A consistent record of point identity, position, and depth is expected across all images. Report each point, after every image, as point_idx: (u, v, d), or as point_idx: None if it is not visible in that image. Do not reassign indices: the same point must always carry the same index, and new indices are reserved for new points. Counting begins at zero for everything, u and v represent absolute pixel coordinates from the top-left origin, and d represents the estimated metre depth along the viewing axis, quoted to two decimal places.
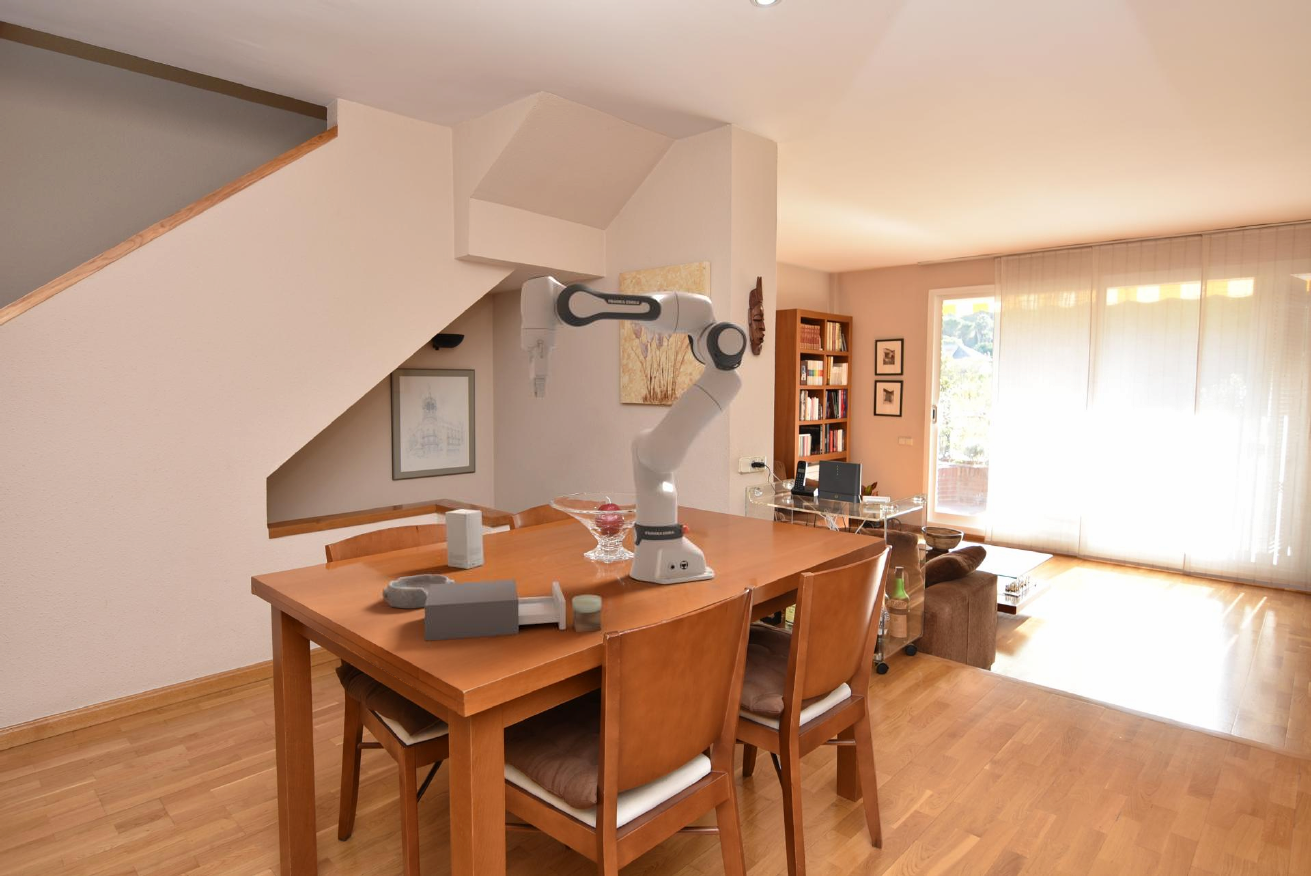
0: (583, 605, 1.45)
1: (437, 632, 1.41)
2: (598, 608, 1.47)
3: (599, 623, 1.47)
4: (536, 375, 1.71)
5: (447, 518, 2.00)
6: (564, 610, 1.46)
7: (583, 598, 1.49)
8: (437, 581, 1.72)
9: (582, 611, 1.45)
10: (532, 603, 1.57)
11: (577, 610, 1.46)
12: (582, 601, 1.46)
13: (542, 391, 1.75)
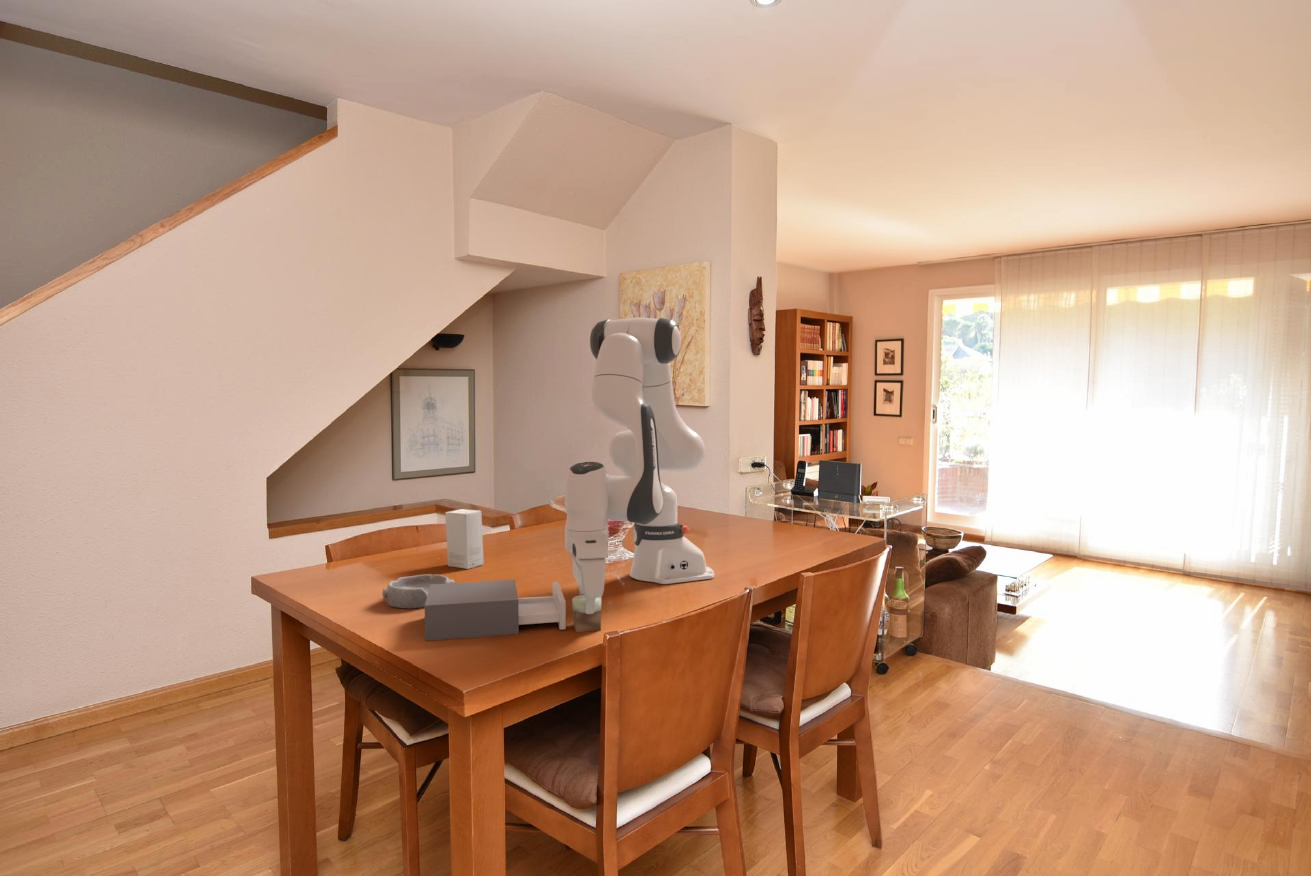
0: (583, 605, 1.45)
1: (437, 632, 1.41)
2: (598, 608, 1.47)
3: (599, 623, 1.47)
4: None
5: (447, 518, 2.00)
6: (564, 610, 1.46)
7: (583, 597, 1.49)
8: (437, 581, 1.72)
9: (582, 611, 1.45)
10: (532, 603, 1.57)
11: (577, 610, 1.46)
12: (582, 601, 1.46)
13: None
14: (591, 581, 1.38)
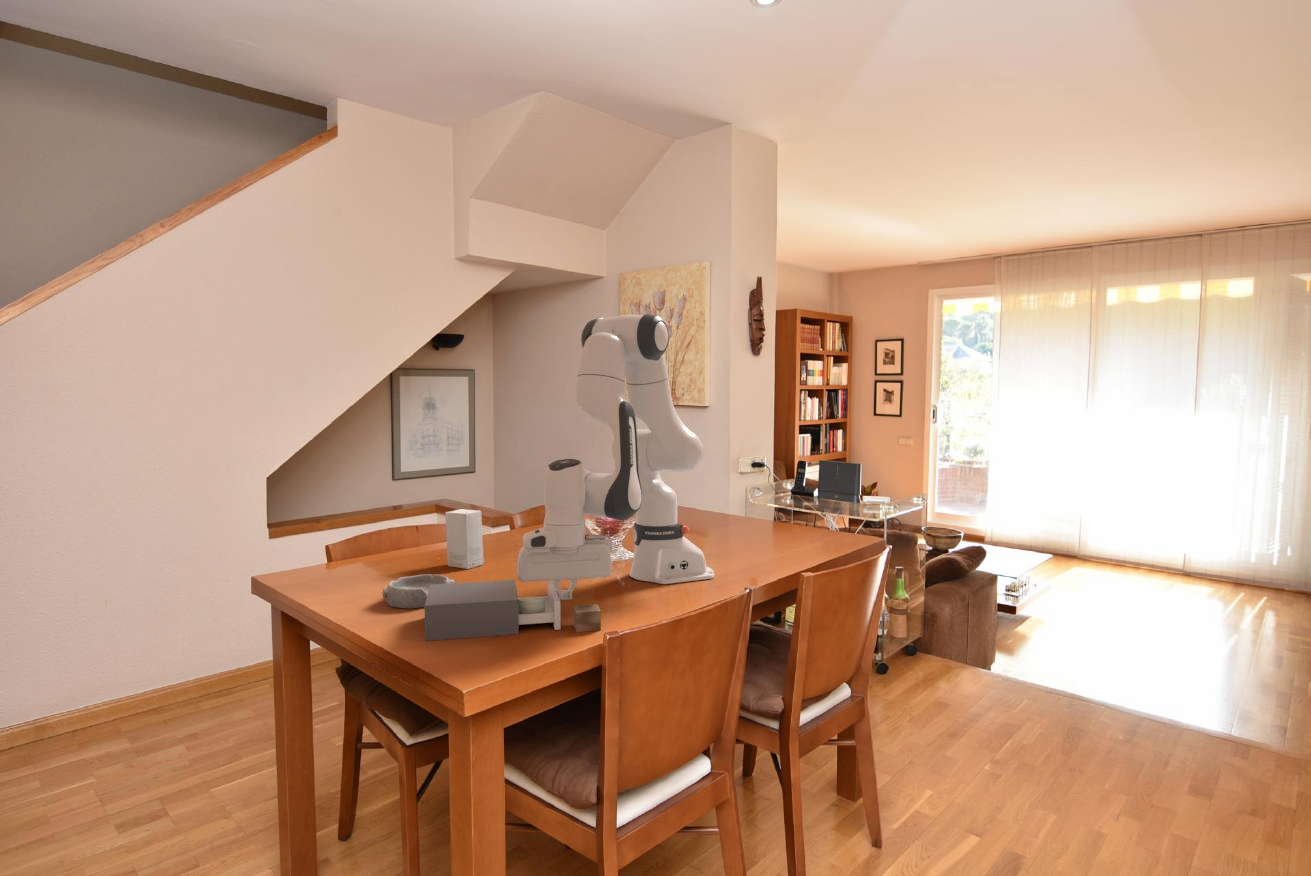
0: (523, 607, 1.50)
1: (437, 632, 1.41)
2: (538, 611, 1.50)
3: (599, 623, 1.47)
4: (610, 574, 1.55)
5: (447, 518, 2.00)
6: (559, 610, 1.46)
7: (529, 599, 1.53)
8: (437, 581, 1.72)
9: (522, 612, 1.50)
10: None
11: (518, 611, 1.51)
12: (523, 602, 1.51)
13: None
14: None
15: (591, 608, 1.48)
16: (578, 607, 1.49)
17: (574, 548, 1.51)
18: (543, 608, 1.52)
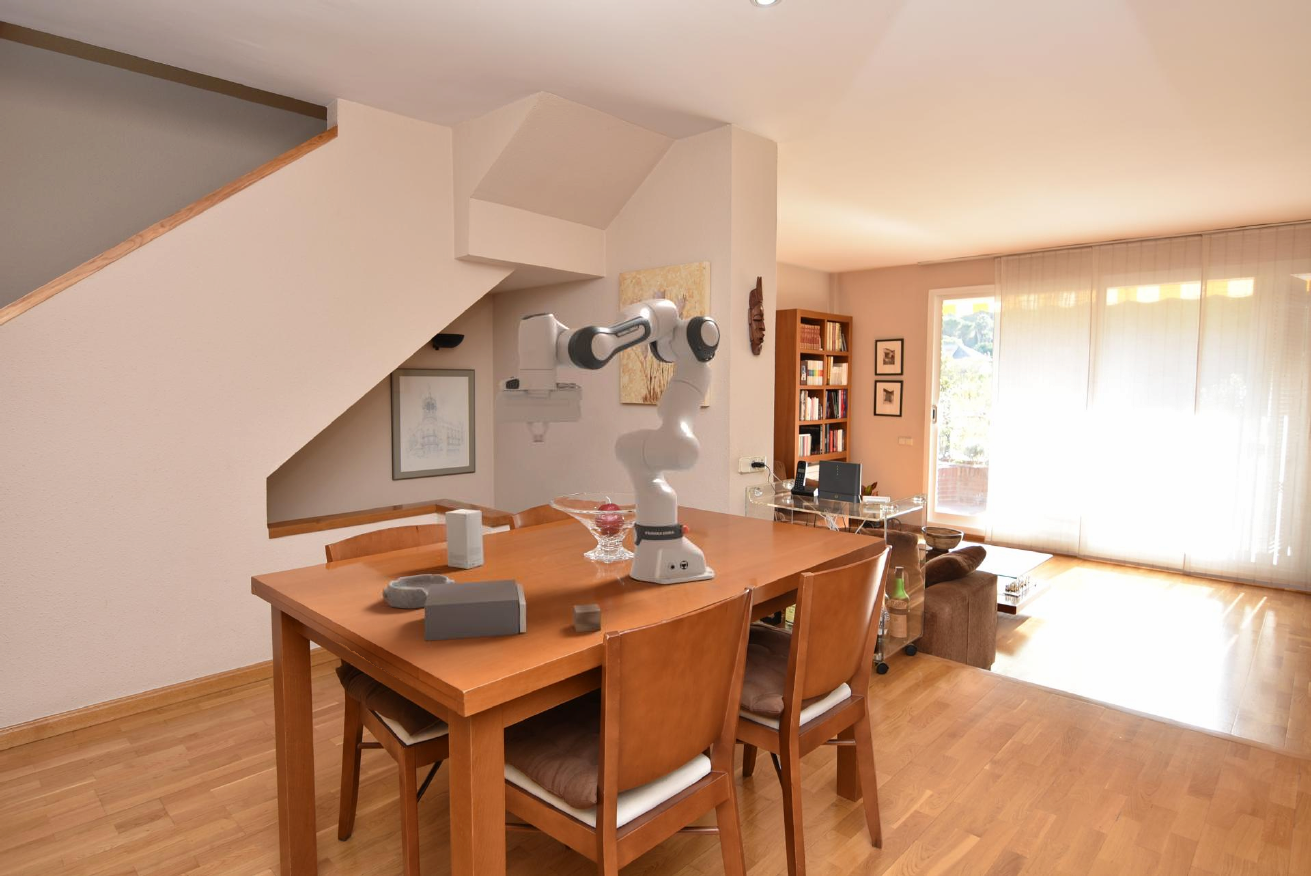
0: None
1: (437, 632, 1.41)
2: None
3: (599, 623, 1.47)
4: (579, 419, 1.68)
5: (447, 518, 2.00)
6: (524, 613, 1.45)
7: None
8: (437, 581, 1.72)
9: None
10: None
11: None
12: None
13: None
14: (494, 407, 1.65)
15: (591, 608, 1.48)
16: (578, 607, 1.49)
17: (546, 392, 1.65)
18: None
